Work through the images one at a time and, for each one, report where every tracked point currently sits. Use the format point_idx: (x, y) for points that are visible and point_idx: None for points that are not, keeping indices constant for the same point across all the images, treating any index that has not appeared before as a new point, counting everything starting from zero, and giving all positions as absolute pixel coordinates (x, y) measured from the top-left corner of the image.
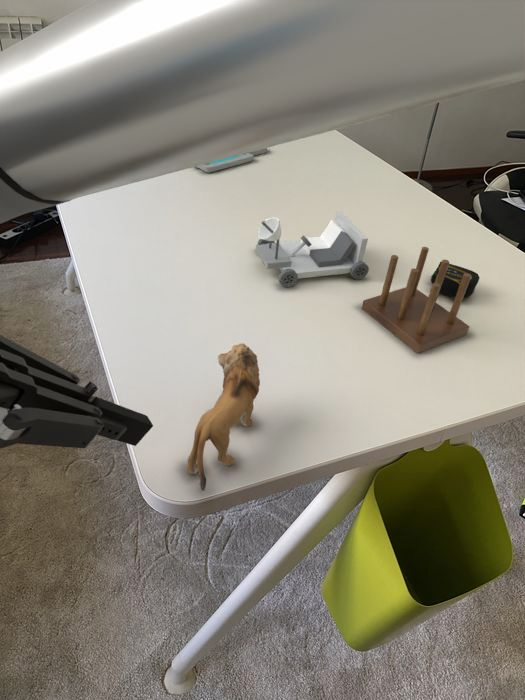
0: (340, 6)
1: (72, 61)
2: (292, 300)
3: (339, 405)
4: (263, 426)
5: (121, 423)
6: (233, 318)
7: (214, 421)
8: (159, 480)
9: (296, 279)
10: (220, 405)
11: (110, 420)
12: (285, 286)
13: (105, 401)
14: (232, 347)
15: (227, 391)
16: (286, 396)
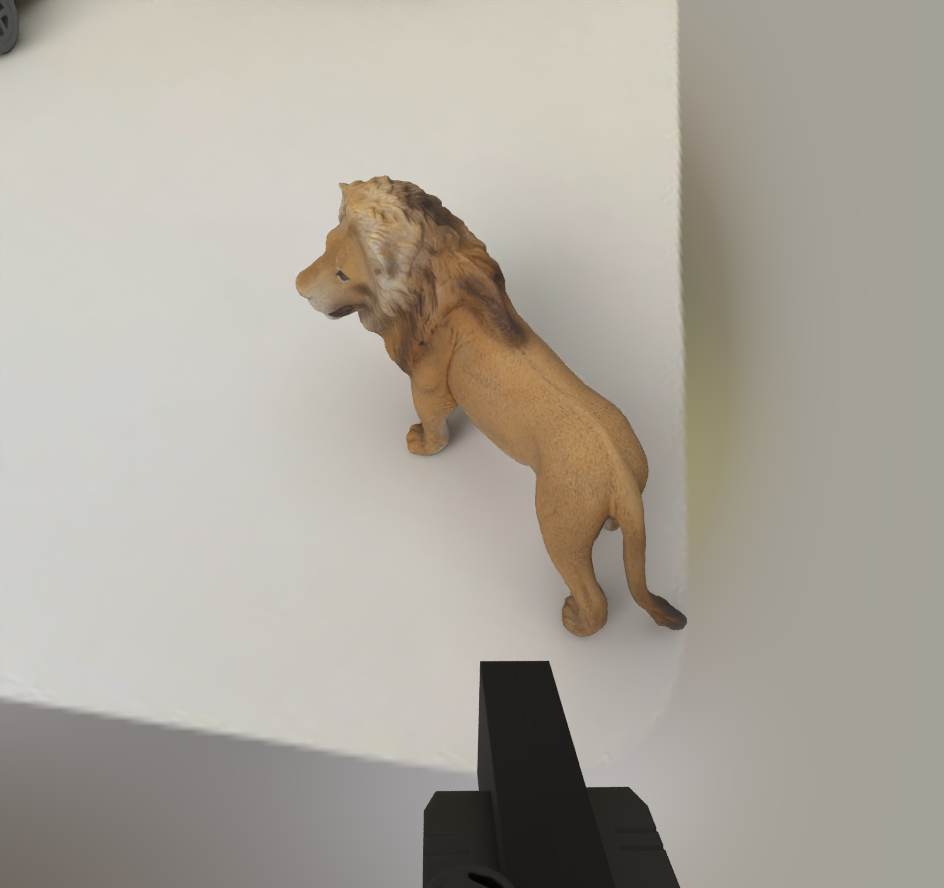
0: None
1: None
2: (73, 68)
3: (523, 186)
4: None
5: (606, 804)
6: (16, 218)
7: (620, 447)
8: None
9: (14, 7)
10: (544, 397)
11: (631, 864)
12: (5, 48)
13: (520, 843)
14: (353, 214)
15: (484, 348)
16: None
